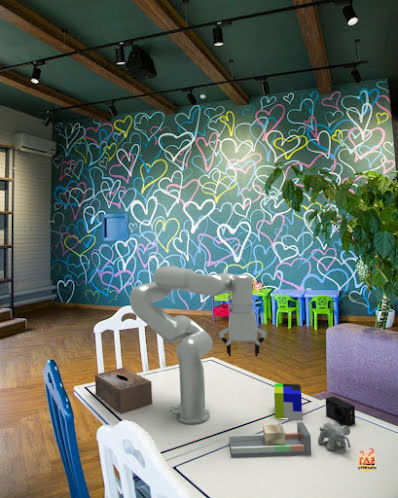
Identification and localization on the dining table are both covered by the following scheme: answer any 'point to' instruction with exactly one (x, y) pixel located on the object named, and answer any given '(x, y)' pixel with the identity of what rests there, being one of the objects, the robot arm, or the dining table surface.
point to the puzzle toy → (288, 401)
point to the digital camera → (340, 411)
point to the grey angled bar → (304, 436)
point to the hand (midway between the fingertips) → (242, 355)
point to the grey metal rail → (256, 447)
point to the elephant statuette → (334, 435)
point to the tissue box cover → (123, 389)
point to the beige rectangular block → (274, 434)
